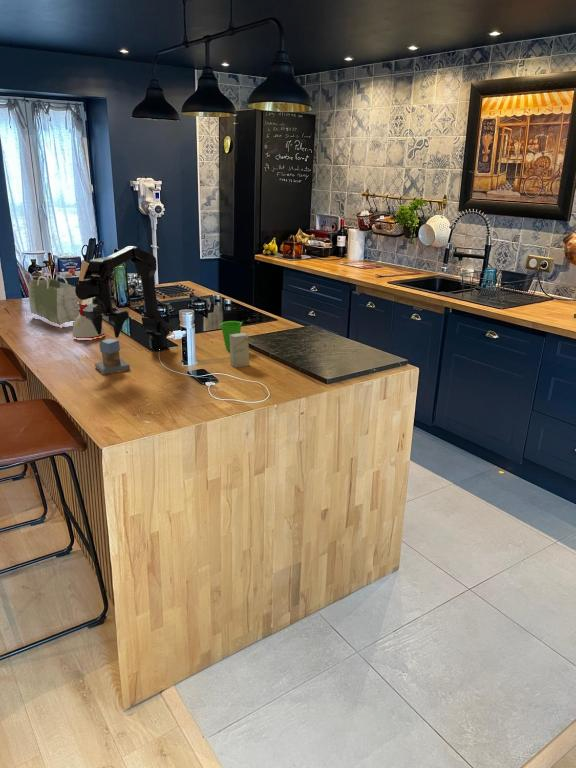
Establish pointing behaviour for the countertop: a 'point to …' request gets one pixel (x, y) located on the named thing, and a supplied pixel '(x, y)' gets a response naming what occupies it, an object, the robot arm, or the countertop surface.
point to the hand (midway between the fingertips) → (108, 336)
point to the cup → (230, 331)
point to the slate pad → (112, 367)
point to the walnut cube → (111, 359)
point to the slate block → (109, 346)
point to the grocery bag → (53, 300)
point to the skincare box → (239, 350)
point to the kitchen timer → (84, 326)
